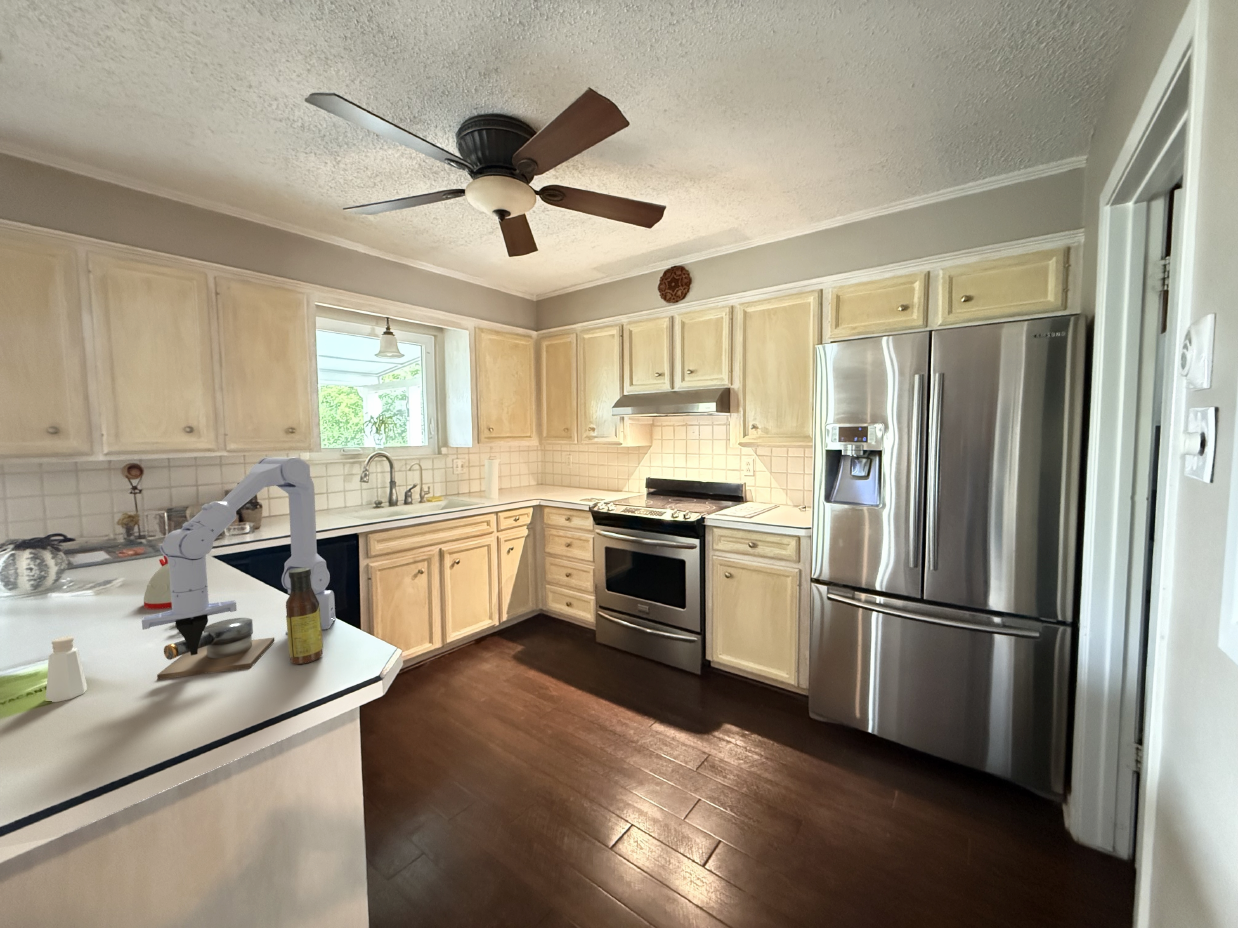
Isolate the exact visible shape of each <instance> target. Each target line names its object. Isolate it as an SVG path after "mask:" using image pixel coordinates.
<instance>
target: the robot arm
mask: <svg viewBox="0 0 1238 928" xmlns="http://www.w3.org/2000/svg"><path fill="white" fill-rule="evenodd" d="M271 487H277V488H279V489H280V490H282V491H283V492H285V493H286V494H287V495H288V506H289V508H288V509H289V526H290V527H289V528H290V529H289V532H290V534H289V535H290V552H291V553H290V555H291V556H290V557H289V558H288V559H287V560H286V561H285V562H284V570H283V573H282V575H281V584H282V586H283V588H284V589H286V590H287V594H288V595H290V593H291V582H290V578H289V571H290V570H293V569H297V568H310V569H311V575H310V578H311V587H312V589H313V591H314V593H315V595H316V597H317V599H318V601H319V606H320V617H321V630H329V629H330V627H331V626H332V625H333V623H334V622H335V620H336V619H337V617H336V609H335V608H336V606H335V605H336V604H335V593H334V591H333V590H330V589H329V590H327V589H326V588H327V587H328V585H329V583H330V580H331V578H330V577H331V576H330V572H329V569H328V568H327V561H326V560H325V559H324V558H323V557H322V556H320V554H318V549H317V547H318V546H317V521H316V519H317V518H316V500H315V499H316V498H315V495H316V494H315V492H316V491H315V484H314V480H313V479H312V476H311V466H310V464H309V463H307V462H306V461H305V460H304V459H302V458H300V457H298V456H293V457H272V456H266V457H263V458H261V459H259V461H257V462H256V464H254V465H252V466H251V468H250V471H249V472H248V474H247V475H246V476H244V478H242V480H241V481H240V482H239V483H237V485H236V486H235V487H234V488H233V489H231V490H230V491H229V493H228V494H227V495H226V496H225V497H224V498H222V500H221V501H211V502H210V503H204V504H203V505H202V506H201V511H199V512H198V513H197V514H195V516H193V517H192V518H191V519H190V520H189V521H185V522H184V523H182V527H181V529H179V528H178V529H176V530H173V531H170V532H169V533H168V534H167V535H166V536H165V537H164V538H163V541H162V544H161V545H159V550H160V552H161V554H162V555H163V557H164V556H166V557H167V559H168V564H169V573H170V588H171V601H172V608H171V610H169V611H164V612H160V613H156V614H153V615H149V616H143V617H142V618H141V625H142V626H141V627H142V629H141V630H143V631H144V630H149V629H150V628H154V627H159V626H163V625H169V624H173V623H174V624H175V628H176V630H177V631H178V632H179V633H180V634H181V636H182V638H184V639H183V640H186V642H187V644H188V646H189V649H190V653H191V656H192V655H196V654H198V646H199V642H200V638H201V636H202V633H204V629H205V627H206V626H208V625H207V624H208V622H209V618H208V617H209V616H213V615H218V614H224V613H233V612H237V611H238V610H237V602H236V600H235V599H233V600H228V601H219V602H211V603H210V601H209V588H208V587H209V585H208V571H207V556H206V555H207V554H209V553H210V552H211V551H212V549H213V546H214V542H215V541H216V539H217V537H219V535H220V534H222V533H223V532H224V531H225V530H226V529H227V528H228V527H229V526H230V525H232V523H233V522H234V521H235V520H236V519H237V511H238V510H239V509H240V508H242V507H243V506H244V505H245V504H247V502H249V501H250V500H251V499H252V498H254V497H256V495H258V494H259V493H260V492H261V491H262V490H264V488H271ZM331 618H333V619H335V620H333V619H331ZM333 621H334V622H333ZM285 634H288V631H287V630H285Z"/></svg>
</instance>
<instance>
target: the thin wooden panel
mask: <svg viewBox="0 0 1238 928" xmlns="http://www.w3.org/2000/svg"><path fill="white" fill-rule="evenodd" d="M252 635H253V634H252ZM252 635H251V636H249V637H247V638H245V639H243V640H240V641H237V642H233V643H228V644H223V645H208V646H205V647H202V648H200V649H198V654H196V655H192V656H191V653H190V652H189V653H186V654H183V655H181V656H178V657H177V658H176V659H174V661H173V662H171V663H170V664H169V665H168V666H166V667H165V668H164V669H163V670H161V671H160V672H159V673H157V674H156V677H157V680H164V679H173V678H181V677H189V676H196V675H204V674H211V673H219V672H227V671H228V672H230V671H234V670H235V671H236V670H244V669H251V668H252V667H253V666H254V665H255V664H254V663H256V662H258V660H259V659H260V658H261V657H262V656H263V655H264V654H265V653H266V652H267V650H269V648H270V647H271V646H272V645H273V644H274V643H275V642H274V641H275V637H267V638H257V639H253V637H252ZM273 642H274V643H273ZM272 643H273V644H272ZM271 644H272V645H271ZM270 645H271V646H270ZM269 646H270V647H269ZM264 652H265V653H264ZM263 653H264V654H263ZM262 654H263V655H262ZM261 655H262V656H261ZM259 657H260V658H259ZM253 664H254V665H253Z"/></svg>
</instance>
